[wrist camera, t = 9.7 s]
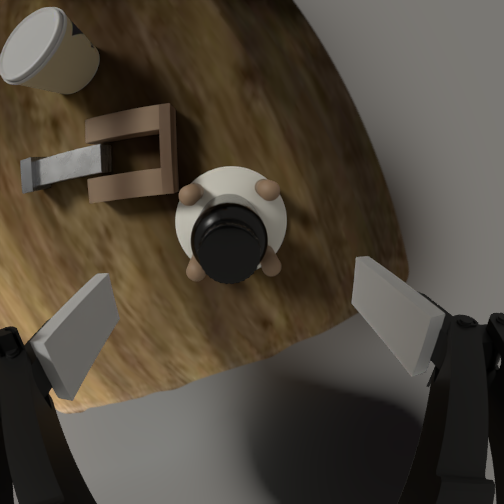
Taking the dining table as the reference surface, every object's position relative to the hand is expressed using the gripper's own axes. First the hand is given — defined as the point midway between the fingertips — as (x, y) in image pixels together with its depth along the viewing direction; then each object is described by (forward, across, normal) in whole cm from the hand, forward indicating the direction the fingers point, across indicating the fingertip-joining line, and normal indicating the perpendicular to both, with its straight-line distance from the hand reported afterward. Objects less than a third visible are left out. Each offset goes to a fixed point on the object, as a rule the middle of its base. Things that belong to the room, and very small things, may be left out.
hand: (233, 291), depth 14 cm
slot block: (+20, -11, +9) cm, 24 cm away
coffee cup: (+20, -20, +23) cm, 36 cm away
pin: (+19, -20, +9) cm, 29 cm away
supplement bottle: (+19, 0, 0) cm, 19 cm away
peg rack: (+20, 0, 0) cm, 20 cm away
